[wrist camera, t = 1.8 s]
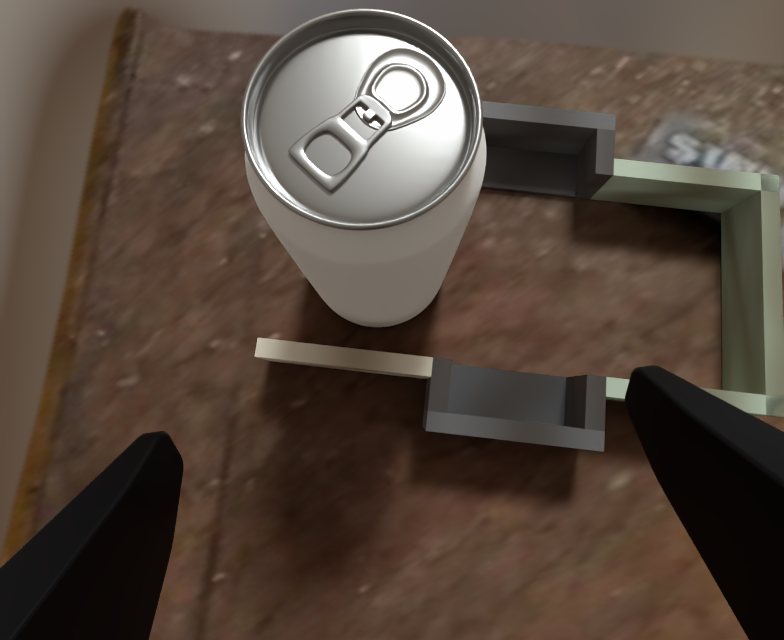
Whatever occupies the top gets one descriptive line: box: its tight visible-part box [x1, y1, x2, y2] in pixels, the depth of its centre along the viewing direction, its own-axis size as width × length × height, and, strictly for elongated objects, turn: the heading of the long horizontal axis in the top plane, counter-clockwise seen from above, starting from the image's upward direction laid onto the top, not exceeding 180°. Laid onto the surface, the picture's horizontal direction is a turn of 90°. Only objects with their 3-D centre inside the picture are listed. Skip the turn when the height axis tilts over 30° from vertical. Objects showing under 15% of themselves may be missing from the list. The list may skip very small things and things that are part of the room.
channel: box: [255, 101, 784, 452], centre depth 21 cm, size 22×15×2 cm
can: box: [241, 8, 486, 327], centre depth 16 cm, size 6×6×12 cm
